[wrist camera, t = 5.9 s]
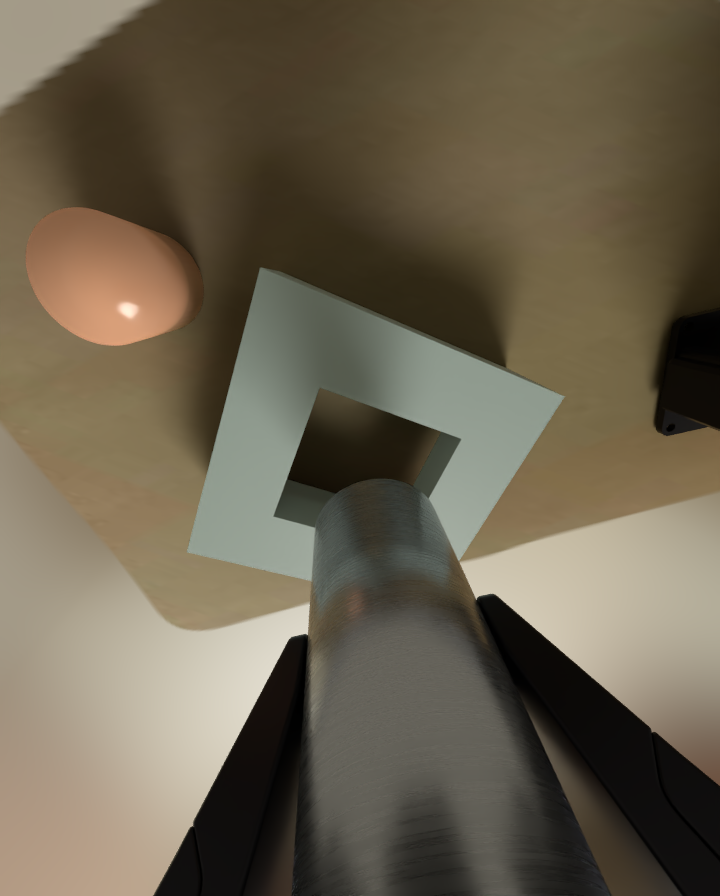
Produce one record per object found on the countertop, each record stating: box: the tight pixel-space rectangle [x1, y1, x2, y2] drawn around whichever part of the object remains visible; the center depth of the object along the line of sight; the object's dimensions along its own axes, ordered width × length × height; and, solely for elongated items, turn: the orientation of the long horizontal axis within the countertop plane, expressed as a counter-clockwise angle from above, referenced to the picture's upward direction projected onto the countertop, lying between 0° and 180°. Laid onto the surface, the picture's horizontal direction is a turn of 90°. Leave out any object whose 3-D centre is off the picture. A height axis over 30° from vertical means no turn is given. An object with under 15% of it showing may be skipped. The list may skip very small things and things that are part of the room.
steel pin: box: [291, 479, 612, 896], centre depth 7 cm, size 4×4×9 cm
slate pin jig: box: [187, 267, 564, 581], centre depth 17 cm, size 12×12×5 cm
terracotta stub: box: [26, 207, 204, 346], centre depth 13 cm, size 4×4×4 cm
